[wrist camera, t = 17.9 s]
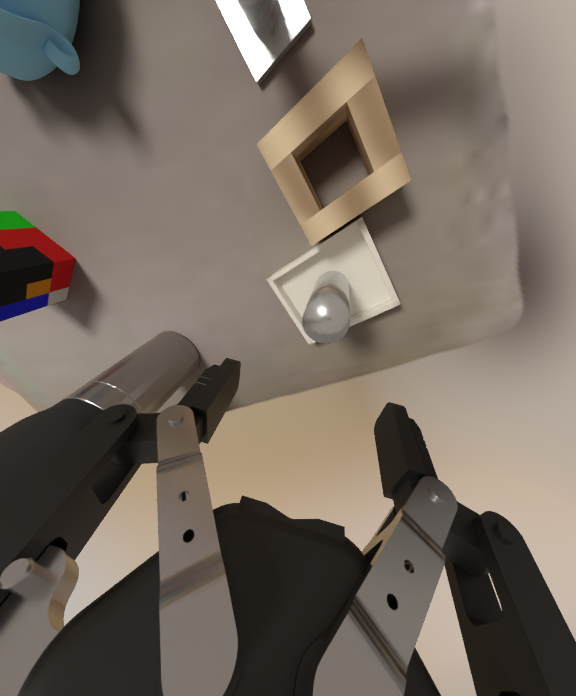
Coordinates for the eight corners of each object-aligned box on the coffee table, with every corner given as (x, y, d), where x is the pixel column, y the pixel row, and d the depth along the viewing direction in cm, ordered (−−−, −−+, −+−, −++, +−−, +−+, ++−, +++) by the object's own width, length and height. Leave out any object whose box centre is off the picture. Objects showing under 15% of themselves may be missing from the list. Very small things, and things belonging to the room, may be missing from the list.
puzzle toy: (66, 299, 43) (-1, 321, 34) (13, 260, 41) (-72, 274, 32) (75, 258, 38) (-2, 272, 29) (15, 211, 35) (-86, 212, 27)
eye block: (316, 240, 28) (311, 245, 24) (271, 154, 25) (256, 144, 21) (399, 184, 24) (411, 180, 20) (358, 72, 21) (361, 38, 16)
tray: (311, 337, 36) (309, 344, 34) (271, 274, 32) (266, 279, 30) (397, 297, 30) (400, 304, 28) (361, 216, 26) (362, 217, 24)
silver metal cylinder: (325, 308, 32) (316, 349, 23) (309, 281, 31) (293, 314, 22) (354, 293, 30) (358, 331, 21) (338, 263, 29) (335, 291, 20)
